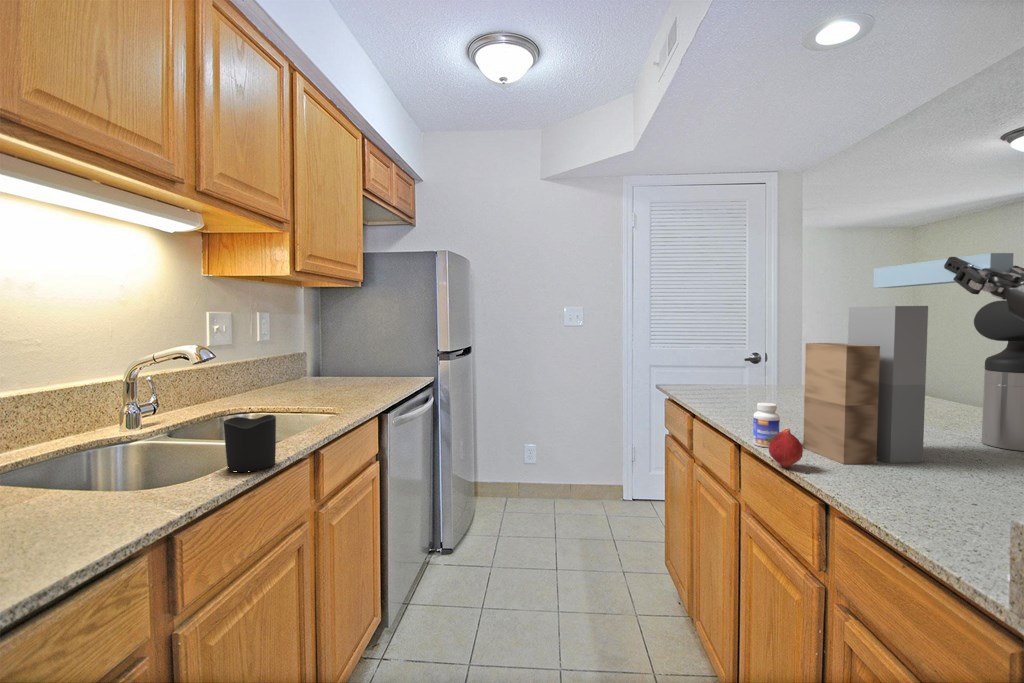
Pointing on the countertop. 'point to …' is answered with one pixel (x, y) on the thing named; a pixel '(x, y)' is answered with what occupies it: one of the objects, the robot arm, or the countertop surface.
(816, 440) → the block
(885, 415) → the block
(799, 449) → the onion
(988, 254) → the beam
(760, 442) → the pill bottle
